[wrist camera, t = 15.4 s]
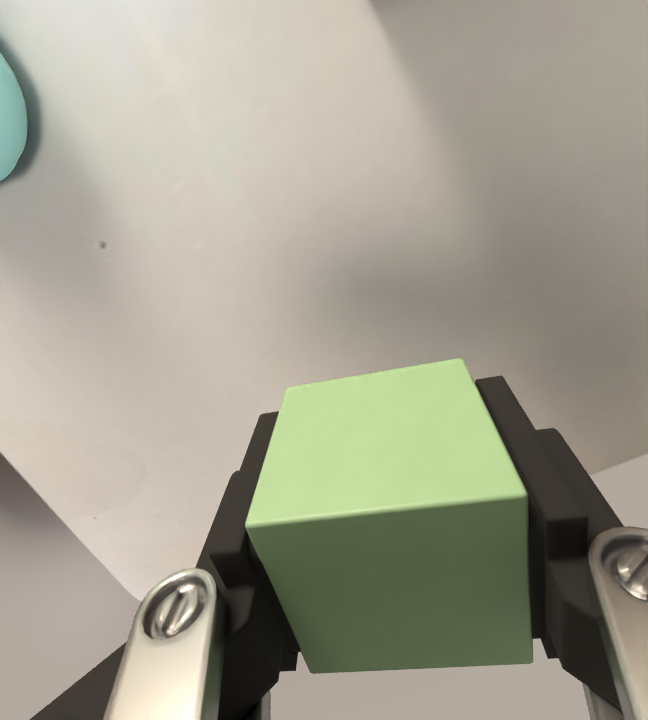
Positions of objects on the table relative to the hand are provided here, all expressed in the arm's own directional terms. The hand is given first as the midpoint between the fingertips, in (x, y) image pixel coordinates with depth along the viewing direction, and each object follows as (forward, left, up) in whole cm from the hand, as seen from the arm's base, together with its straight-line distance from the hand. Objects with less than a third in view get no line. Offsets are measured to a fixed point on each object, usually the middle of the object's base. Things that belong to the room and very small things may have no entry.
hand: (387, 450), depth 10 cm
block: (0, 0, 0) cm, 0 cm away
